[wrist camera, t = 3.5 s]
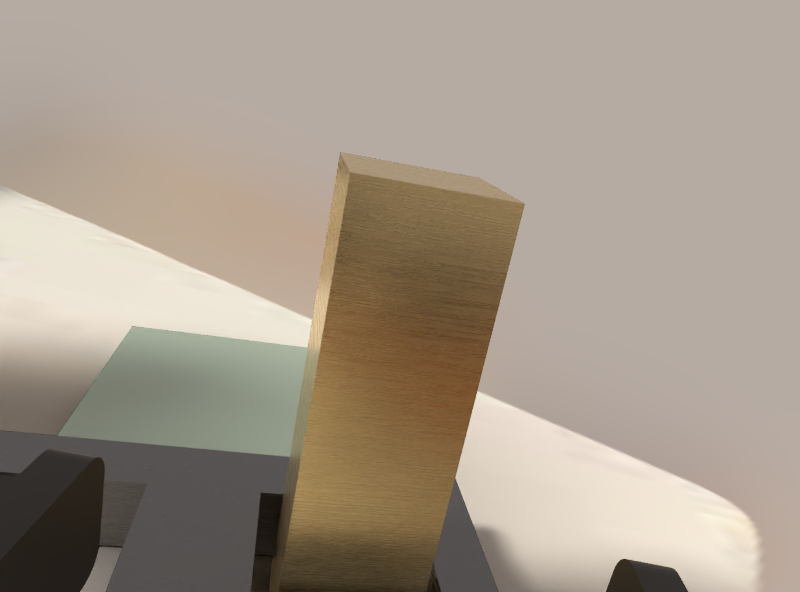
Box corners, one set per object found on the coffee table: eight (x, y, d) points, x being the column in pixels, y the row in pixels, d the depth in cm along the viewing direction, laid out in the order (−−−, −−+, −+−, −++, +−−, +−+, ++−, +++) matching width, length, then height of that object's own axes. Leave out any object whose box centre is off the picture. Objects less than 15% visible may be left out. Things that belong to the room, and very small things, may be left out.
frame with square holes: (-332, 790, 13) (-350, 694, 12) (-63, 488, 22) (-64, 424, 21) (517, 783, 16) (543, 709, 16) (439, 525, 26) (452, 471, 25)
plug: (264, 674, 18) (350, 172, 14) (270, 570, 22) (340, 152, 18) (404, 678, 19) (525, 203, 15) (387, 577, 22) (479, 177, 18)
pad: (52, 463, 25) (53, 440, 24) (131, 342, 36) (132, 326, 36) (361, 489, 27) (365, 468, 27) (343, 368, 38) (346, 352, 38)
